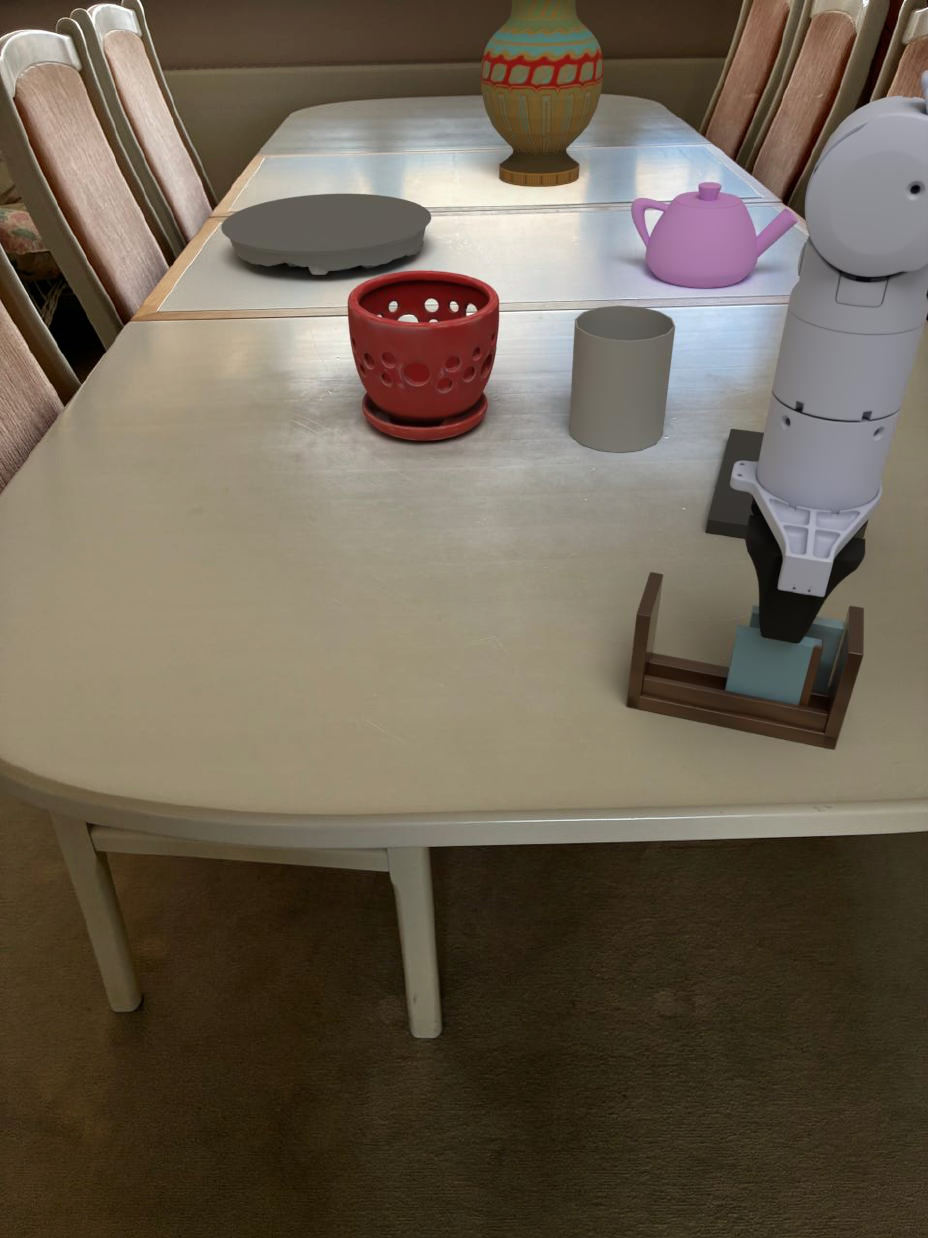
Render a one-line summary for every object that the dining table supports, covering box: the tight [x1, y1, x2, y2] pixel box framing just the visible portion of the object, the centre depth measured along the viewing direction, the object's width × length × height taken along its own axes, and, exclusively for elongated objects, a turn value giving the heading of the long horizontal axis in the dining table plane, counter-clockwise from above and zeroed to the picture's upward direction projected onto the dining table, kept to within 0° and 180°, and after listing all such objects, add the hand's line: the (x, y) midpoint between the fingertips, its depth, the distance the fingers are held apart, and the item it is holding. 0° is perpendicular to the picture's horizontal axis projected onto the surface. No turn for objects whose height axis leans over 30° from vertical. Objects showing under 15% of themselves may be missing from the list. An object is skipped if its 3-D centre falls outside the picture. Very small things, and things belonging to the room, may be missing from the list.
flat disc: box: [220, 193, 432, 276], centre depth 130 cm, size 28×28×4 cm
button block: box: [705, 428, 870, 539], centre depth 76 cm, size 18×11×3 cm, turn 161°
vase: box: [480, 0, 604, 187], centre depth 155 cm, size 20×20×30 cm
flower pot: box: [347, 269, 500, 442], centre depth 86 cm, size 13×13×12 cm
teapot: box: [630, 181, 799, 289], centre depth 118 cm, size 14×20×11 cm
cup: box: [568, 304, 676, 454], centre depth 84 cm, size 8×8×10 cm
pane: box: [725, 624, 824, 707], centre depth 54 cm, size 5×1×7 cm, turn 71°
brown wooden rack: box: [625, 571, 865, 750], centre depth 56 cm, size 12×4×7 cm, turn 71°
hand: (781, 628), depth 52 cm, fingers closed, pressing on pane
